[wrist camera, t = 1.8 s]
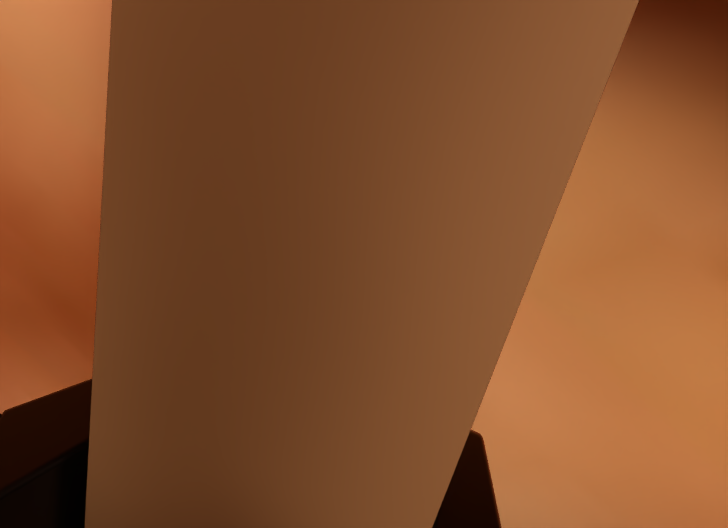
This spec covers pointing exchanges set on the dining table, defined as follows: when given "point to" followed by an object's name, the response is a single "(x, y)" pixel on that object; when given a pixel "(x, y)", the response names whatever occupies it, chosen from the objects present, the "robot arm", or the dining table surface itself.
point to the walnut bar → (321, 245)
